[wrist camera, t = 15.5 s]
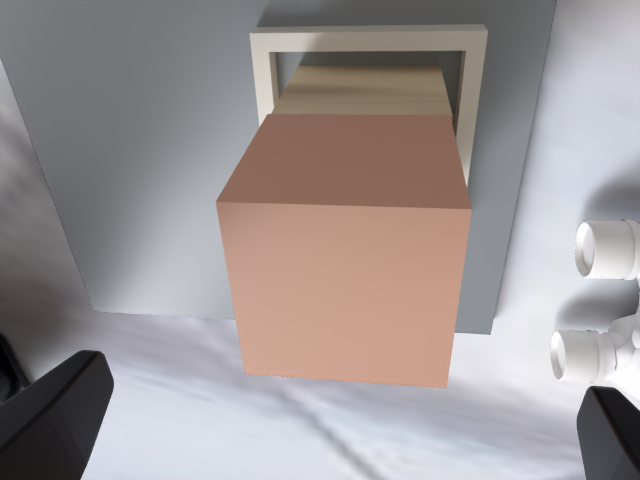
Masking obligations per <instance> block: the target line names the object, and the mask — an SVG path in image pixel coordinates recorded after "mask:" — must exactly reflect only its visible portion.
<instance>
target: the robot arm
mask: <svg viewBox="0 0 640 480" xmlns="http://www.w3.org/2000/svg"><path fill="white" fill-rule="evenodd" d="M113 388H114V380H113V376H112V374H111V371H110V369H109V366H108V363H107V361H106V358H105V356H104V354H103V353H102V352H100V351H91V350H82V351H79V352H77V353H75V354H74V355H73V356H71V357H70V358H68V359H67V360H65V361H64V362H62V363H61V364H59V365H58V366H57V367H55V368H54V369H52V370H51V371H49V372H48V373H46V374H45V375H43V376H42V377H41V378H39V379H38V380H36V381H35V382H33V383H32V384H30V385H28V383H27V381H26V379H25V377H24V375H23V373H22V371H21V369H20V367H19V365H18V363H17V362H16V360H15V358H14V356H13V354H12V352H11V350H10V348H9V346H8V344H7V342H6V340H5V339H4V338H3V337H2V336H1V335H0V480H80V479H81V477H82V475H83V473H84V470H85V468H86V466H87V463H88V461H89V458H90V455H91V453H92V450H93V447H94V444H95V441H96V438H97V436H98V433H99V430H100V427H101V424H102V421H103V418H104V415H105V413H106V410H107V407H108V404H109V401H110V398H111V395H112V392H113ZM577 431H578V437H579V442H580V448H581V453H582V459H583V464H584V470H585V475H586V480H640V411H639V410H638V409H637V408H636V407H635V406H634V405H633V404H632V403H631V402H630V401H629V400H628V399H627V398H626V397H625V396H624V395H623V394H622V393H621V392H620V391H618V390H617V389H615V388H613V387H604V386H590V387H589V388H588V389H587V391H586V393H585V396H584V399H583V402H582V404H581V407H580V410H579V412H578V415H577Z"/></svg>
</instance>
